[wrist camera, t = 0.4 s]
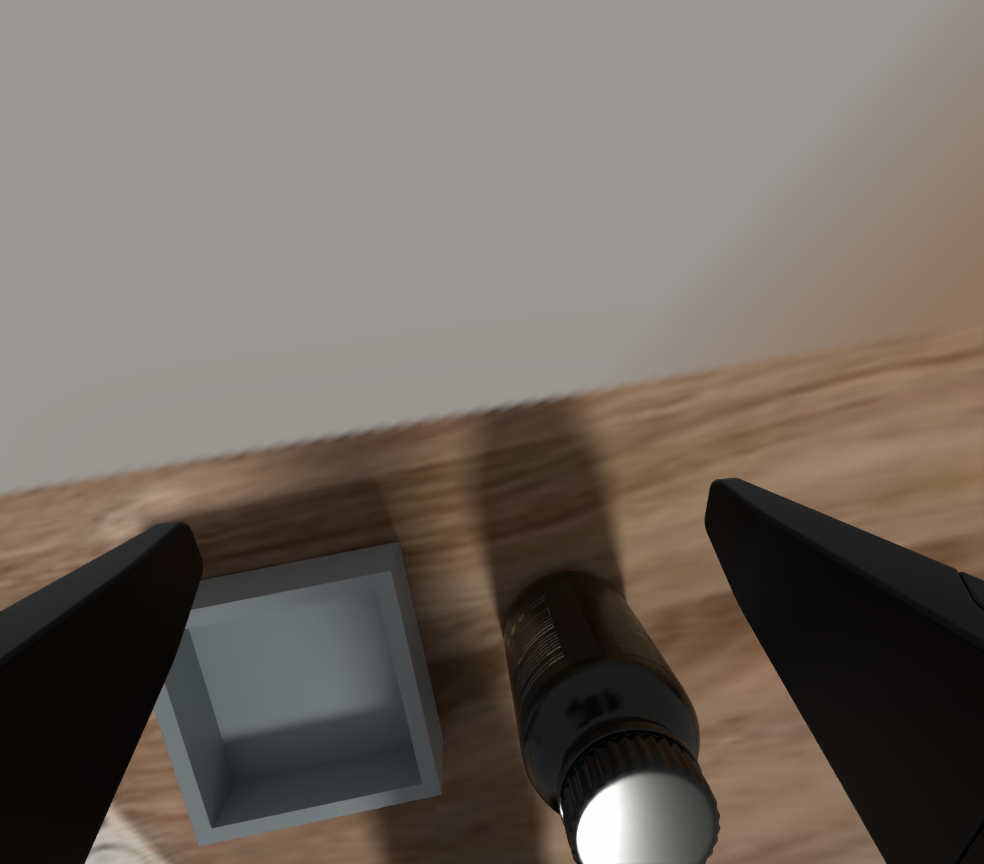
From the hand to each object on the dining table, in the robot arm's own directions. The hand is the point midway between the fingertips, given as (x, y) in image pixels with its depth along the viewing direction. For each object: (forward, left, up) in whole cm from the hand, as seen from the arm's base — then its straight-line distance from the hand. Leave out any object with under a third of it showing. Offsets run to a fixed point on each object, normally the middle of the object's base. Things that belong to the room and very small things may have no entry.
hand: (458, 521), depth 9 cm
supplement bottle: (-6, -11, -17) cm, 22 cm away
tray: (-15, -1, -17) cm, 23 cm away
